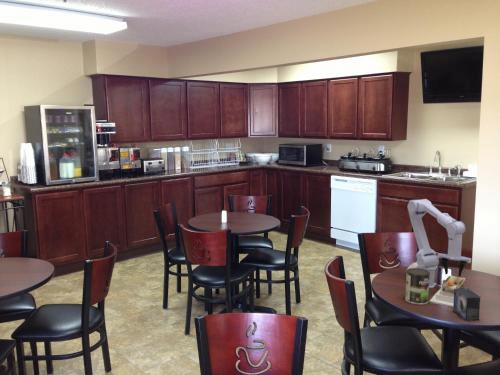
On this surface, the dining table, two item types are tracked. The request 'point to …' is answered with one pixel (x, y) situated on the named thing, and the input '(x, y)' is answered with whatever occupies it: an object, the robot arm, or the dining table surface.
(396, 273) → the dining table surface
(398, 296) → the dining table surface
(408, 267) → the crystal
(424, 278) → the coffee can
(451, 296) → the beige flat block
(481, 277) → the dining table surface
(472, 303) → the small box
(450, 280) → the ball
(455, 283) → the lever
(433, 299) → the lever base
